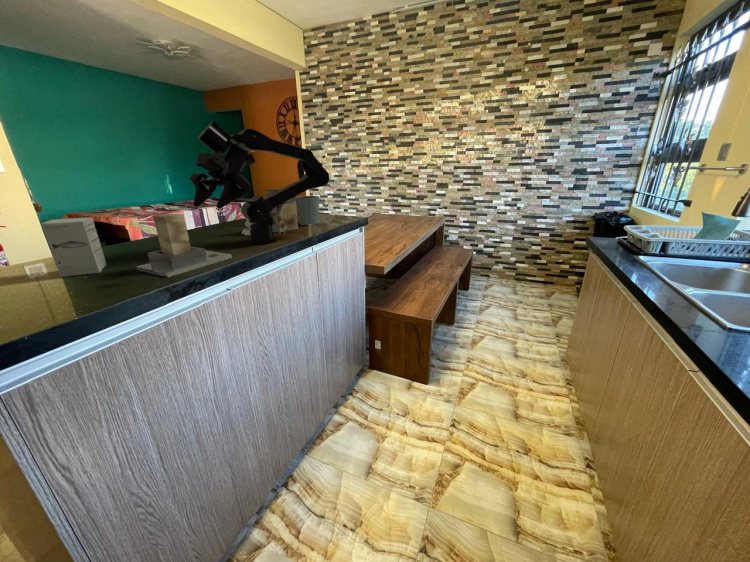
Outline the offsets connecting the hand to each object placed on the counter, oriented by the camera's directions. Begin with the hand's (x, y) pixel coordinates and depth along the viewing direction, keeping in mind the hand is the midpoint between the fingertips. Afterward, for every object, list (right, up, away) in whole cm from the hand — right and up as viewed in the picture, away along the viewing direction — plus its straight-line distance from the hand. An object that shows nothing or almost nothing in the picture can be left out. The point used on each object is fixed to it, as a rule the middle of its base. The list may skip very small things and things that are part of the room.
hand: (206, 206), depth 86 cm
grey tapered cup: (+18, +4, +52) cm, 55 cm away
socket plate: (-2, -16, -4) cm, 17 cm away
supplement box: (-24, -19, -10) cm, 32 cm away
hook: (-1, -2, +34) cm, 34 cm away
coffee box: (+11, -1, +38) cm, 39 cm away
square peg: (-3, -16, -7) cm, 17 cm away
